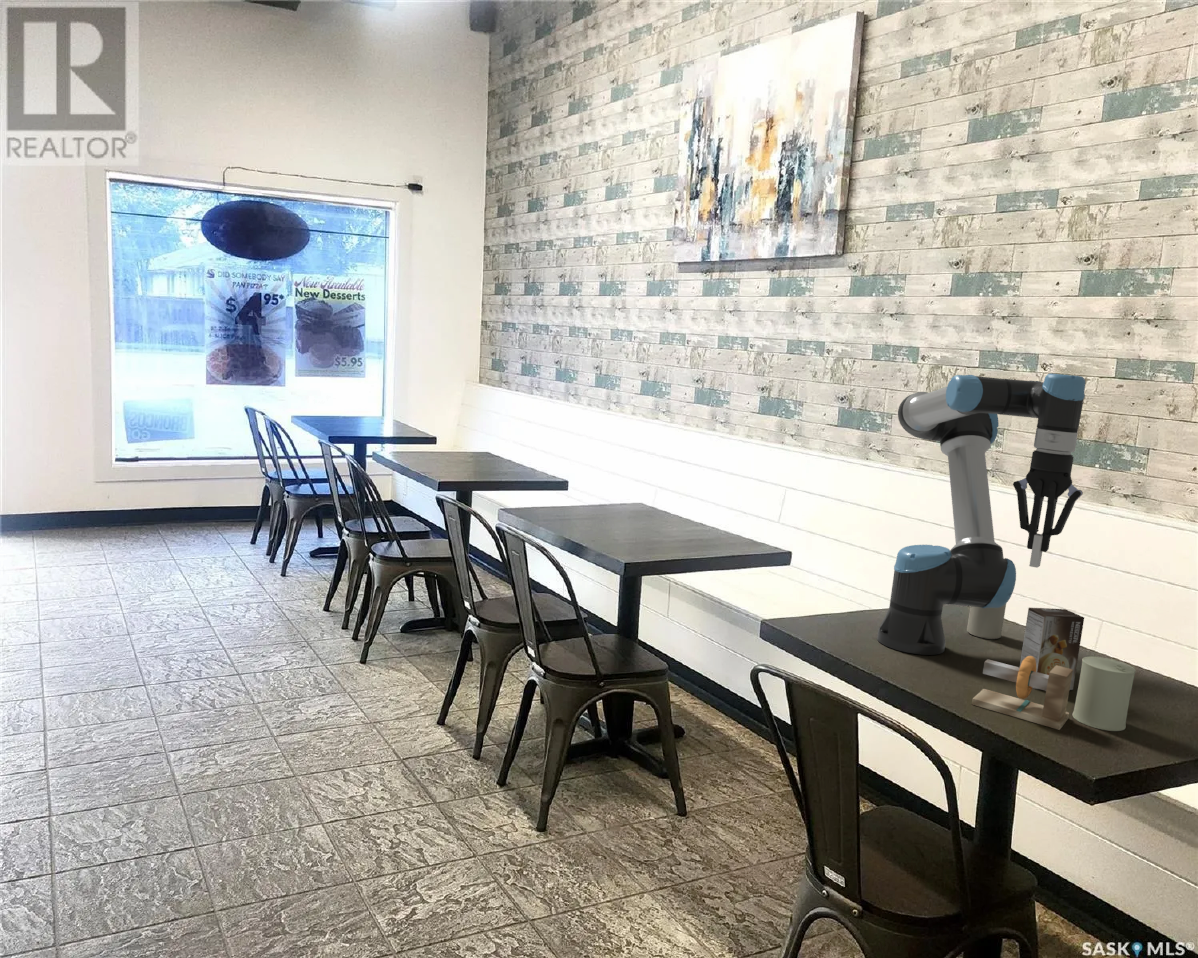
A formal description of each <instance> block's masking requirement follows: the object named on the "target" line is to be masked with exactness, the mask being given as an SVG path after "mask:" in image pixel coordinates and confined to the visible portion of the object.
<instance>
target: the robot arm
mask: <svg viewBox="0 0 1198 958" xmlns="http://www.w3.org/2000/svg"><path fill="white" fill-rule="evenodd" d="M1085 389H1086V379H1085V378H1084V376H1081V375H1073V374H1072V375H1071V374H1060V373H1048V374H1046V375H1045V377H1044V380H1043V382H1042V381H1038V380H1022V379H1012V378H999V377H989V376H988V377H987V376H978V375H974V374H957V375H956V374H955V375H953V376H952V377H951V378H950V380H949V381H948V384H947V386H945V387H941V388H939V389H935V390H933V391H930V392H926V391H918V392H914V393H912V394H909V395H907V396H906V397H904V399H903V400H902V401H901V403H900V404H899V406H898V408H897V409H898V410H897V419H898V422H899V424H900V426H901V427H902V429H903V430H904V431H906V433H908V434H909V435H911V436H913V437H915V438H917V439H921V440H926V441H935V442H939V444H940V446H939V447H940V451H941V453H942V454H944V455H945V456H947V460H948V462H947V463H948V470H949V471H948V472H949V483H950V495H951V505H952V507H951V508H952V514H953V515H952V516H953V528H954V539H955V544H954V546H953V547H952V548H951V549H950V548H948V547H945V546H942V545H932V544H914V545H907V546H904V547H902V548H900V550H899V551H898V552H897V556H896V561H895V563H894V565H893V570H894V571H893V577H892V578H893V579H892V585H891V593H890V601H889V606H888V609H887V611H886V613H885V616H884V618H883V619H882V621H881V623H880V625H879V627H878V630H877V634H876V635H877V637H876V640H877V641H878V642H879V643H881V645H884V646H886V647H888V648H890V649H892V650H896V651H899V652H903V653H909V654H913V655H920V656H921V655H923V656H935V655H941V654H943V653H944V652H945V651H946V650H945V648H946V636H945V635H946V634H945V632H944V625H943V619H942V616H943V615H942V614H943V608H944V605H952V606H963V607H964V606H965V607H970V606H972V607H981V608H999V607H1002V606H1004V605H1005V604H1006V605H1007V603H1008V602H1009V600H1010V599H1011V598H1012V595H1013V593H1014V591H1015V586H1016V581H1017V570H1016V569H1017V568H1016V566H1015V565H1016V564H1015V563H1014V562H1013V560H1011V559H1010V558H1006V557H1005V558H1004V551H1003V547H1002V546H1001V545H1000V544H998V543H997V542H996V541H995V534H994V533H995V532H994V523H993V514H992V513H993V512H992V506H991V494H990V487H989V486H990V485H989V477H988V470H987V469H988V468H987V460H986V452H987V451H988V450H989V449H991V447H992V444H993V443H994V442H995V440H996V438H997V437H998V433H999V430H998V428H999V416H998V415H1003V416H1011V417H1023V418H1030V419H1032V418H1033V419H1037V424H1036V429H1035V430H1036V431H1035V437H1034V443H1033V447H1034V449H1035V450H1033V451H1032V455H1031V458H1030V459H1031V460H1030V467H1029V471H1028V473H1027V474H1026V475H1025V478H1023V479H1019V480H1016V481H1015V480H1014V481H1013V483H1012V485H1013V487H1014V490H1015V492H1016V497H1017V505H1018V506H1017V507H1018V516H1019V527H1020V529H1021V530H1025V531H1026V532H1028V538H1027V544H1026V547H1027V548H1026V549H1028V550H1031V552H1030V553H1031V554H1030V560H1029V565H1028V566H1029V567H1031V568H1037V569H1038V568H1039V567H1040V566H1041V563H1042V556H1043V552H1044V553H1046V552H1049V551H1048V550H1049V548H1050V542H1051V538H1052V536H1058V535H1060V534H1061V533H1062V532H1063V530H1064V527H1065V526H1066V523H1067V521H1068V519H1069V517H1070V514H1071V512H1072V510H1073V508H1074V506H1075V503H1076V501H1078V499H1079V498H1081V496H1083V493H1084V492H1083V490H1081V489H1078V488H1077V487H1076V486H1074V485H1073V479H1072V477H1071V476H1072V470H1073V464H1074V459H1075V458H1074V455H1072V453H1074V452H1075V451H1076V446H1077V440H1078V434H1079V433H1078V431H1079V427H1080V421H1081V416H1082V411H1083V405H1084V400H1085V397H1086V395H1085ZM1028 486H1029V489H1031V491H1032V493H1033V494H1034V495H1033V503H1032V504H1033V505H1032V509H1031V510H1032V511H1031V517H1029V509H1028V500H1027V499H1028V498H1027V497H1028V496H1027V491H1026V489H1028ZM1066 491H1068V492H1067V496H1068V498H1067V500H1066V502H1065V504H1064V506H1063V508H1062V510H1061V513H1060V515H1059V517H1058V520H1057V521H1056V524H1055V526H1054V520H1055V514H1056V508H1057V503H1058V499H1059V497H1061V496H1062V495H1063V494H1064V493H1065V492H1066ZM1045 497H1046V498H1047V501H1046V503H1047V504H1046V510H1045V517H1044V523H1043V528H1042V529H1043V530H1042V533H1038V532H1039V527H1040V520H1041V515H1042V509H1043V505H1044V504H1043V502H1044V499H1045ZM1029 518H1030V520H1029ZM1053 526H1054V528H1053Z"/></svg>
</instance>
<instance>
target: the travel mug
mask: <svg viewBox="0 0 1198 958" xmlns="http://www.w3.org/2000/svg"><path fill="white" fill-rule="evenodd" d="M1006 607H1007V603H1006V604H1005V605H1004V606H1002V607H999V608H981V607H972V606H969V614H968V620H967V626H966V632H967V633H969V634H970V635H972V636H975V637H977V638H980V639H981V638H982V639H986V640H987V639H988V640H998V639H1000V638H1002V633H1003V632H1002V631H1003V626H1004V620H1005V612H1006Z"/></svg>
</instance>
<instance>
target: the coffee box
mask: <svg viewBox="0 0 1198 958" xmlns="http://www.w3.org/2000/svg"><path fill="white" fill-rule="evenodd" d="M1027 609H1028V610H1027V617H1026V623H1025V629H1024V630H1025V631H1024V637H1023V642H1022V643H1023V644H1022V648H1021V657H1020V663H1019V667H1020V666H1021V663H1022V661H1023V660H1024V659H1025V658H1026V657H1027V656H1033V657H1034V658H1035V659H1036V667H1037V669H1036V672H1038V673H1042V674H1046V675H1049V672H1050V671H1051V670H1052V669H1053V668H1054V667H1055V666H1056V665H1057V666H1061V667H1065V668H1069V669H1073V673H1072V679H1071V684H1070V690H1069V691H1073V690H1074V684H1075V679H1076V672H1077V665H1078V659H1079V653H1080V647H1081V641H1082V634H1083V629H1084V624H1085V623H1084V622H1085V621H1084V620H1085V617H1084V616H1082V615H1080V614H1077V613H1075V612H1073V611H1071V610H1068V609H1066V608H1065V609H1064V608H1050V607H1049V608H1045V607H1027ZM1032 689H1034V690H1039V689H1038V688H1034V687H1032Z"/></svg>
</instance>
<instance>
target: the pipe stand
mask: <svg viewBox="0 0 1198 958" xmlns="http://www.w3.org/2000/svg"><path fill="white" fill-rule="evenodd" d="M1019 669H1020V666H1015V665H1011V664H1006V663H1003V662H999V661H996V660H992V659H989V658H987V659H986V660H985V661H984V663H983V668H982V674H983V675H985V676H986V675H987V676H991V677H994V678H997V679H1001V680H1006V681H1008V682H1013V683H1015V684H1016V683H1017V676H1018V672H1019ZM1072 673H1073V669H1069V668H1065V667H1061V666H1057V665H1056V666H1055V667H1054V668H1053V669H1052V670H1051V671H1050V672H1049V675H1046V674H1042V673H1038V672H1034V671H1031V673H1030V676H1029V681H1028V686H1030V687H1034V688H1038V689H1037V690H1042V691H1045V696H1044V702H1043V704H1040V703H1036V702H1033V701H1031V700H1028V699H1021V698H1019V697H1015V696H1011V695H1008V694H1004V693H1000V692H997V691H994V690H989V689H986V688H982V689H981V690H980V691H979V692H978V693H977V694H976V695H975V696H974V697H972V701H971V705H972V706H975V707H976V706H977V707H978V708H982V709H986V710H990V711H994V712H997V713H1000V714H1002V715H1003V714H1004V715H1006V716H1011V717H1013V718H1018V719H1021V720H1024V721H1027V722H1031V723H1035V724H1036V725H1037V724H1038V725H1041V726H1046V727H1049V728H1052V729H1054V730H1057V731H1058V730H1059V731H1060V730H1061V729H1062V728H1063V726H1064V725H1065V724H1066V723H1067V721H1068V720H1069V718H1070V717H1069V716H1070V712H1068V711H1067V707H1068V701H1069V695H1070V691H1071V690H1070V684H1071V679H1072ZM1034 688H1033V689H1034Z"/></svg>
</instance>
